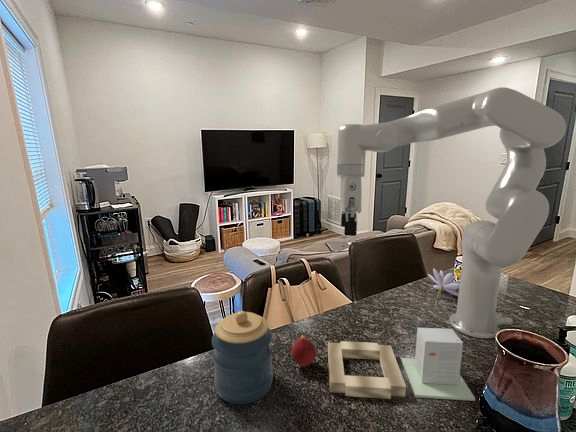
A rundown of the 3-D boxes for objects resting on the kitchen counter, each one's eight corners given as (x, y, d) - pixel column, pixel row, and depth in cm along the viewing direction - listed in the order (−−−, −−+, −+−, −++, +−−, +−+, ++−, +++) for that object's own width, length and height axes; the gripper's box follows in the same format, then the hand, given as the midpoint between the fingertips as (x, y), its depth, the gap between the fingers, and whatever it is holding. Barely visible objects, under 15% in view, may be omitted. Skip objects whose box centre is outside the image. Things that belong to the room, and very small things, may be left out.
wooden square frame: (389, 352, 81) (390, 343, 81) (406, 399, 66) (407, 389, 65) (327, 349, 83) (328, 340, 82) (330, 395, 67) (330, 384, 67)
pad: (451, 362, 77) (451, 360, 77) (475, 400, 65) (475, 398, 65) (400, 359, 78) (400, 357, 78) (415, 397, 67) (415, 394, 66)
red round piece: (317, 360, 78) (318, 331, 77) (312, 376, 73) (312, 345, 71) (295, 355, 80) (295, 327, 78) (288, 370, 75) (288, 340, 73)
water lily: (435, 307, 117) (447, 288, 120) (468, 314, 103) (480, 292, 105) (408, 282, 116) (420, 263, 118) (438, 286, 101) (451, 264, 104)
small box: (448, 368, 74) (453, 328, 72) (459, 385, 69) (464, 342, 67) (413, 366, 75) (416, 326, 73) (421, 383, 69) (425, 341, 67)
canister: (249, 356, 80) (247, 292, 76) (285, 383, 71) (284, 311, 67) (203, 383, 71) (198, 311, 67) (237, 417, 62) (233, 337, 58)
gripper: (370, 173, 78) (366, 239, 82) (359, 168, 95) (357, 224, 99) (339, 173, 79) (337, 239, 82) (334, 168, 96) (333, 223, 99)
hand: (348, 230), depth 91 cm, fingers open, 9 cm apart
